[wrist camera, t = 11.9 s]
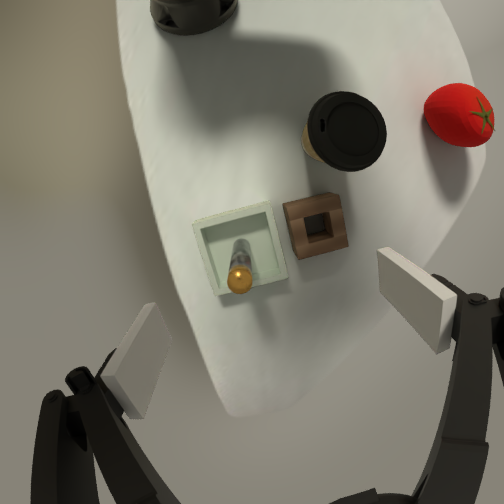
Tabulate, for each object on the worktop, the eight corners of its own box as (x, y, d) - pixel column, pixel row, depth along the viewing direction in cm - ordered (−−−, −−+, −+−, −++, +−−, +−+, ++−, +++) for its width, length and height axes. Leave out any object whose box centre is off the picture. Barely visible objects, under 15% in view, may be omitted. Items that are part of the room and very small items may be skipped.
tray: (195, 220, 45) (191, 224, 42) (268, 200, 45) (270, 203, 41) (216, 287, 48) (214, 296, 45) (285, 270, 48) (288, 278, 44)
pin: (230, 240, 46) (223, 273, 31) (247, 236, 45) (248, 267, 31) (235, 257, 46) (231, 296, 32) (252, 252, 46) (255, 290, 32)
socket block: (282, 203, 45) (286, 207, 40) (329, 192, 44) (339, 195, 39) (293, 250, 47) (298, 259, 42) (338, 238, 46) (348, 246, 42)
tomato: (409, 132, 41) (459, 125, 28) (417, 80, 38) (463, 62, 25) (456, 158, 42) (506, 161, 29) (463, 109, 39) (510, 102, 26)
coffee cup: (348, 173, 43) (391, 175, 29) (289, 169, 43) (310, 169, 29) (348, 115, 41) (390, 95, 26) (289, 110, 41) (309, 82, 26)
